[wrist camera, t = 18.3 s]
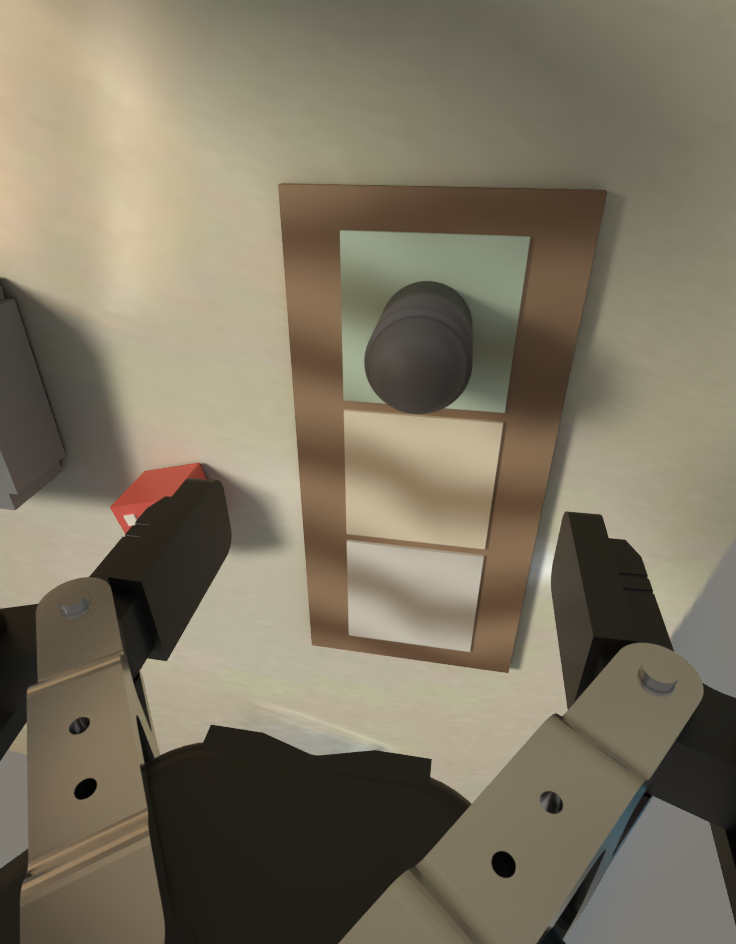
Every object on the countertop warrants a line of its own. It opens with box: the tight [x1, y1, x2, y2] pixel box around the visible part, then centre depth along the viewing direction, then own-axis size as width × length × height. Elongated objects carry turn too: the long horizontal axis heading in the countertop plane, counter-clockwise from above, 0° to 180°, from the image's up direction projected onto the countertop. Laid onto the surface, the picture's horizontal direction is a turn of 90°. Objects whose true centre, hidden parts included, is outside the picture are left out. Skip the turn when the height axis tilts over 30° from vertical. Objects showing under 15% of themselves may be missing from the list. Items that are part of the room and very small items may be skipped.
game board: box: [278, 183, 607, 673], centre depth 32 cm, size 30×14×1 cm, turn 0°
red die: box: [110, 463, 207, 534], centre depth 35 cm, size 4×4×4 cm
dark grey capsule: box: [364, 281, 473, 414], centre depth 24 cm, size 4×4×7 cm
